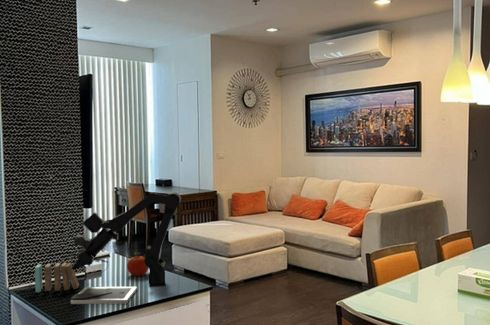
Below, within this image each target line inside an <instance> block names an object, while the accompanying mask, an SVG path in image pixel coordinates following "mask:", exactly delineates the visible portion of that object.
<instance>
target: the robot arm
mask: <svg viewBox="0 0 490 325" xmlns="http://www.w3.org/2000/svg"><path fill="white" fill-rule="evenodd" d="M181 201H182V197H181V195H180V194H179V193H178V192H176V191H175V192H174V191H173V192H170V193H167V192H166V193H165V192H156V191H151V192H150V193H148V195H147V196H145V197H144V198H143V199H141V200H140V201H139V202H138V203H136V204H134V205H133V206H132V207H131V208H129V209H128V210H127V211H124V212H122V213H119V214H118V215H115V216H114V217H113V218H112V219H106V220H103V219H102V218H101V217H100V216H99V215H98V213H97V212H93V213H92V214H91V215H90V216H89V217H87V218H86V219H85V220H84V221H83V222H82V226H84V227H85V229H87V230H88V231H89V232H90V233H91V234H96V235H95V236H94V237H92V238H88V237H86V236H84V235H82V234H77V235H76V236H75V239H74V240H73V242H72V243H73V244H75V245H78V246H80V247H81V248H82V249H83V250H82V249H80V250H79V252H78V254H77V255H76V256H77V259H76V261H75V263H74V264H73V265H72V266H73V267H72V269H73V270H74V271H75V270H77V269H79V268H81V267H84V266H88V267H90V266H91V265H92V264H93V263H94V259H95V258H96V257H97V255H98V254H99V253H100V252H101V251H103V249H104V248H105V247H106V246H107V245H108V244H109V243H110V242H111V240H113V239H114V240H115V241H118V240H119V233H118V232H120V231H121V230H123V229H124V228H125V226H127V225H128V224H129V222H130V221H131V220H132V219H133V218H134V217H136V216H137V215H139V214H140V213H141V212H143V211H144V210H145V209H147V207H149V206H150V205H152V204H153V203H156V204H161V205H164V210H163V216H162V217H161V220H160V224H159V226H158V228H157V231H156V235H155V237H154V241H153V243H152V244H151V245H148V246H147V248H146V249H145V254H144V255H143V258H145V259H144V263H145V265H146V266H147V267H149V268H148V270H149V272H148V273H147V279H148V281H147V282H148V284H149V287H162V286H167V284H166V268H165V267H164V266H165V264H166V261H165V260H164V259H163V258H161V255H162V246H163V243H164V240H165V237H166V235H167V232H168V230H169V226H170V224H171V220H172V218H173V215H174V214H175V212H176V210H177V208H178V207H179V204H180V203H181Z"/></svg>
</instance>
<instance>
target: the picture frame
mask: <svg viewBox="0 0 490 325" xmlns="http://www.w3.org/2000/svg"><path fill="white" fill-rule="evenodd" d="M136 290H137V291H138V286H100V287H99V286H86V287H84V288H83V289H82V290H80V292H78V293H76V294H74V295H73V296H72V297H70V305H97V304H98V305H105V304H106V305H107V304H108V305H111V304H112V305H115V304H116V305H118V304H123V305H125V304H128V303H129V302H130V300H131V299H132V298H133V297H134V295H135V294H136V292H137V291H136ZM134 293H135V294H134ZM133 294H134V295H133ZM131 297H132V298H131ZM130 298H131V299H130ZM128 301H129V302H128Z"/></svg>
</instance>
